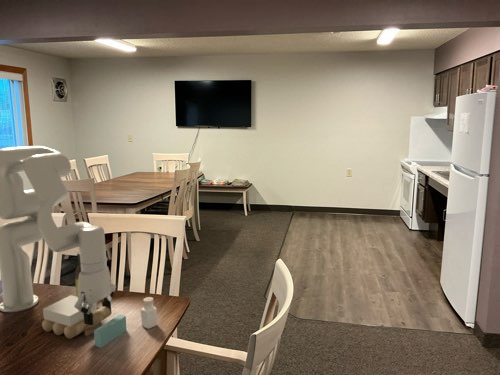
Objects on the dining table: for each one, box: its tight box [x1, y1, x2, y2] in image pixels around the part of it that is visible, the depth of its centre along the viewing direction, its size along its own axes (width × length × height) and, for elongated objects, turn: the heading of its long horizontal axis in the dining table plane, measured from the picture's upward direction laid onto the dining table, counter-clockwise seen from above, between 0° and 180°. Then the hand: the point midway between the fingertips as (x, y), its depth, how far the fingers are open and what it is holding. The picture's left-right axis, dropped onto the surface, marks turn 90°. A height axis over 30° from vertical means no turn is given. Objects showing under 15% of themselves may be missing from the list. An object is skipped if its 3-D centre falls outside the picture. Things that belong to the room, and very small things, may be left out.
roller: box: [88, 306, 112, 327], centre depth 125 cm, size 7×4×4 cm, turn 155°
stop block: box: [93, 314, 127, 348], centre depth 124 cm, size 2×11×5 cm, turn 155°
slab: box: [42, 294, 98, 327], centre depth 131 cm, size 12×11×4 cm
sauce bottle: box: [74, 251, 81, 297], centre depth 146 cm, size 7×6×20 cm
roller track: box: [41, 319, 100, 340], centre depth 129 cm, size 22×12×4 cm, turn 65°
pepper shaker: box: [140, 296, 158, 330], centre depth 131 cm, size 4×4×10 cm
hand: (98, 318), depth 126 cm, fingers closed on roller, 7 cm apart
